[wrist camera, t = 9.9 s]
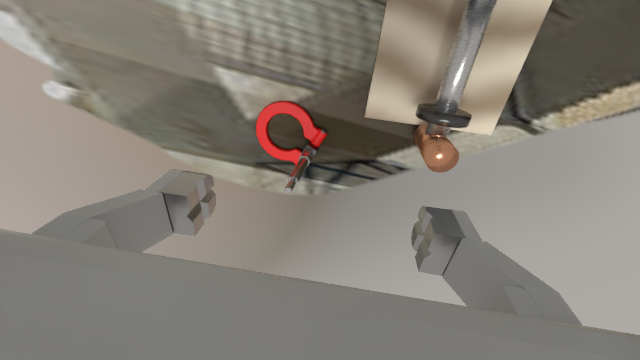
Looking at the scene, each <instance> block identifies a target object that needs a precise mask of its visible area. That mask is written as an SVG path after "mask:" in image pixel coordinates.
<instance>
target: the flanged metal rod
mask: <svg viewBox="0 0 640 360" xmlns="http://www.w3.org/2000/svg"><path fill="white" fill-rule="evenodd" d="M496 3H497V0H467V3H466V7H465V10H464V13H463V16H462V19H461V22H460V25H459V28H458V31H457V35H456V38H455V41H454V44H453V47H452V50H451V53H450V56H449V59H448V63H447V66H446V69H445V72H444V75H443V78H442V81H441V84H440V87H439V91H438V94H437V97H436V100H435V103H434V104H430V103H423V104H419V105H418V107H417V110H416V114H415V115H416V116H417V117H418V118H419V119H421V120H424V121H426V122H428V123H426V124H423V125H421V126H419V127H418V128H417V129H416V131H415V132H414V136H413V138H414V142H415V144H416V145H417V147H418V149H419V151H420V153H421V155H422V157H423V159H424V161H425V163H426V164H427V166H428V168H429V169H430V170H432V171H434V172H445V171H448V170H450V169H452V168H453V167H454V166H455V165H456V163H457V162H458V159H459V153H458V151H457V149H456V148H455V147H454V146H453V144H452V143H451V142H450V141H449V140H448V139H447V136H448V133H449V131H450V128H451V127H452V128H465V127H468V126H469V123H470V121H471V118H472V115H471V114H470V113H468V112H466V111H463V110H461V109H458V106H459V103H460V101H461V98H462V95H463V93H464V90H465V87H466V84H467V82H468V79H469V76H470V74H471V71H472V68H473V65H474V63H475V60H476V57H477V55H478V52H479V49H480V46H481V44H482V41H483V38H484V36H485V33H486V30H487V27H488V25H489V22H490V19H491V17H492V14H493V11H494V8H495V6H496Z"/></svg>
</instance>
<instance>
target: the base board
mask: <svg viewBox="0 0 640 360" xmlns="http://www.w3.org/2000/svg"><path fill="white" fill-rule="evenodd" d="M551 2H552V0H497V3H496V6H495V8H494V11H493V14H492V17H491V19H490V22H489V25H488V27H487V30H486V33H485V36H484V38H483V41H482V44H481V46H480V49H479V52H478V55H477V57H476V60H475V63H474V65H473V68H472V71H471V74H470V76H469V79H468V82H467V84H466V87H465V90H464V93H463V95H462V98H461V101H460V103H459V106H458V109H461V110H463V111H466V112H468V113H470V114H471V115H472V118H471V121H470V123H469V126H468V127H465V128H452V127H451V128H450V129H451V130H458V131H465V132H472V133H479V134H486V135H491V134H492V132H493V130H494V128H495V125H496V123H497V121H498V119H499V117H500V114H501V112H502V110H503V108H504V106H505V103H506V101H507V99H508V97H509V95H510V92H511V90H512V88H513V86H514V84H515V81H516V79H517V77H518V75H519V73H520V70H521V68H522V66H523V64H524V62H525V59H526V57H527V55H528V53H529V51H530V48H531V46H532V44H533V42H534V40H535V37H536V35H537V33H538V31H539V29H540V26H541V24H542V22H543V20H544V18H545V15H546V13H547V11H548V9H549V7H550V5H551ZM466 3H467V0H387V3H386V8H385V13H384V18H383V24H382V29H381V34H380V39H379V44H378V49H377V54H376V59H375V65H374V70H373V75H372V80H371V85H370V90H369V95H368V101H367V106H366V111H365V117H366V118H373V119H380V120H387V121H394V122H401V123H408V124H415V125H423V124H426V123H428V122H426V121H424V120H421V119H419V118H418V117H417V116H416V115H415V114H416V110H417V107H418V105H419V104H423V103H430V104H434V103H435V100H436V97H437V94H438V91H439V87H440V84H441V81H442V78H443V75H444V72H445V69H446V66H447V63H448V59H449V56H450V53H451V50H452V47H453V44H454V41H455V38H456V35H457V31H458V28H459V25H460V22H461V19H462V16H463V13H464V10H465V7H466Z"/></svg>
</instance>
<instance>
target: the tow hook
mask: <svg viewBox="0 0 640 360" xmlns="http://www.w3.org/2000/svg"><path fill="white" fill-rule="evenodd" d="M280 113H286V114H290V115H292V116H294V117H295V118H297V120H298V121H299V122H300V123H301V125H302V127H303V130H304V136H305V138H307V139H308V140H310V141H309V143H308V144H307V146H306V147H305V148H304V150H303V151H301V150H300V149H298V148H295V149H290V150H286V149H282V148H279V147H278V146H276V145H275V144H274V143H273V142H272V141H271V139H270V137H269V135H268V123H269V121H270V119H271V118H272V117H273V116H275V115H276V114H280ZM256 133H257V137H258V140H259V142H260V144H261V145H262V147H263V149H265V150H266V151H267V152H268V153H269V154H270V155H272V156H273V157H275V158H278V159H281V160H287V161H292V162H294V163H295V165H296V167H295V169H294V170H293V172H292V174H291V176H290V177H289V179H288V185H287V186H286V188H285V192H286V193H287V194H291V193H292V191H293V189H294V187H295V186H296V185H298V183H299V181H300V179H301V177H302V175H303V173H304V171H305V169H306V167H307V166H308V165H309V164H310V162H311V160H312V158H313V157H314V155H315V154H316V152H317V150H318V148H319V145H320V144H321V143H322V141H323V140H324V138H325V137H326V136H327V132H326V131H325V130H323V129H321V128H319V129H318V128H317V127H315V126H314V123H313V121H312V119H311V117H310V115H309V114H308V113H307V112H306V111H305V110H304V109H303V108H302V107H300V106H299V105H297V104H295V103H292V102H289V101H279V102H275V103H272V104H271V105H269V106H267V107H266V108H265V109H264V110H263V111H262V112H261V113H260V115H259V117H258V119H257V124H256Z"/></svg>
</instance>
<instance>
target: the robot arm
mask: <svg viewBox="0 0 640 360" xmlns="http://www.w3.org/2000/svg"><path fill="white" fill-rule="evenodd" d="M213 185H214V182H213V177H212V176H211V175H207V174H201V173H195V172H189V171H183V170H175V169H173V170H170V171H168V172H167V173H166V174H165V175H163V176H162V177H161V178H159V179H158V180H157V181H156V182H155V183H153V184H152V185H151V186H149V187H148V188H147V189H145V190H138V191H135V192H131V193H128V194H124V195H121V196H118V197H115V198H111V199H108V200H105V201H102V202H98V203H95V204H92V205H88V206H85V207H82V208H78V209H75V210H72V211H69V212H65V213H63V214H61V215H60V216H58V217H57V218H55V219H54V220H52V221H50V222H49V223H47V224H46V225H44V226H43V227H41V228H39V229H38V230H36V231H35V232H34V233H32V234H27V233H21V232H15V231H9V230H3V229H0V360H640V335H635V334H629V333H623V332H617V331H610V330H605V329H599V328H593V327H587V326H583V325H582V324H581V322H580V321H579V320H578V319H577V317H576V316H575V314H574V313H573V312H572V310H571V309H570V308H569V306H568V305H567V303H566V302H565V301H564V299H563V298H562V297H561V295H560V294H559V293H558V292H557V291H556V290H554V289H553V288H551V287H550V286H548V285H547V284H546V283H544V282H543V281H541V280H540V279H539V278H537V277H536V276H534V275H533V274H531V273H530V272H529V271H527V270H526V269H524V268H523V267H522V266H520V265H518V264H517V263H516V262H515V261H513V260H512V259H510V258H509V257H508V256H506V255H505V254H503V253H502V252H500V251H499V250H498V249H496V248H495V247H493V246H492V245H491V244H489V243H488V242H483V241H482V239H481V238H480V236H479V234H478V232H477V231H476V229H475V227H474V226H473V224H472V222H471V220H470V219H469V217H468V215H467V213H466V212H464V211H458V210H448V209H440V208H432V207H424V206H422V207H421V208H420V210H419V213H418V217H419V221H418V222H417V223H415V224H414V227H413V230H412V237H411V240H412V246H413V249H414V250H415V251H416V252H417V253H416V256H415V259H416V263H417V267H418V271H419V272H424V273H430V274H435V275H440V276H443V278H444V279H445V281H446V282H447V283H448V284H449V285H450V286H451V288H452V289H453V290H454V291H455V292H456V294H457V295H458V296H459V297H460V298H461V299H462V301H463V302H464V303H465V304H466V305H467V306H468V307H467V306H461V305H454V304H448V303H442V302H436V301H429V300H424V299H418V298H412V297H405V296H400V295H394V294H388V293H382V292H375V291H370V290H363V289H358V288H352V287H346V286H340V285H334V284H328V283H322V282H316V281H310V280H304V279H298V278H292V277H285V276H280V275H273V274H268V273H262V272H255V271H249V270H243V269H237V268H231V267H225V266H219V265H213V264H207V263H201V262H195V261H189V260H183V259H177V258H171V257H165V256H159V255H153V254H147V253H141V252H143V251H144V250H146V249H148V248H150V247H151V246H153V245H155V244H156V243H158V242H160V241H162V240H163V239H165V238H167V237H168V236H170V235H172V234H173V233H179V234H187V235H194V236H195V235H196V234H197V233H198V231H199V230H200V229H201V227H202V226H203V225H204V219H206V218H208V217H210V216H211V214H212V213H213V211H214V208H215V206H216V195H215V193H214V192H213V191H212V189H211V188H212V187H213Z"/></svg>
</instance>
